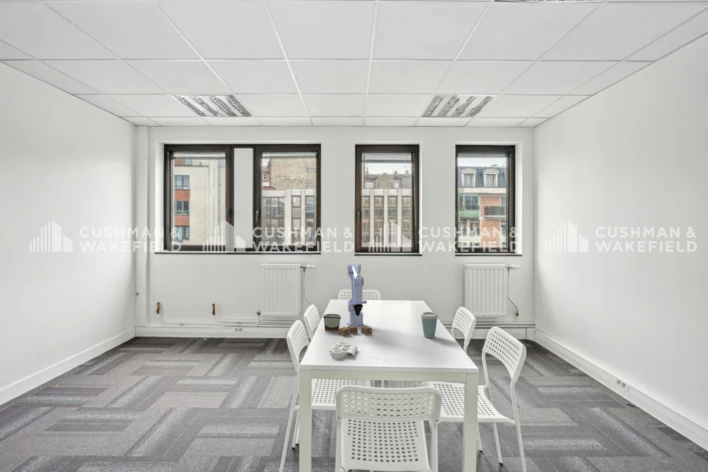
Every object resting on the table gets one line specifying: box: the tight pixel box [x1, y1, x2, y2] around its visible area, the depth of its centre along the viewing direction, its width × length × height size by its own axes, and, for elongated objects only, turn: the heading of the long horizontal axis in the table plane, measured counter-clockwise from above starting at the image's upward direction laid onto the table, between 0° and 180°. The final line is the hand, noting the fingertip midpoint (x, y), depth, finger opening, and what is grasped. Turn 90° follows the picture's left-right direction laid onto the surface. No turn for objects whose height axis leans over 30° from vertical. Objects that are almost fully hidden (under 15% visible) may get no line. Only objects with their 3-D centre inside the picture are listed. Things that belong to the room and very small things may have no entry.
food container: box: [322, 313, 342, 332], centre depth 228 cm, size 12×6×10 cm, turn 84°
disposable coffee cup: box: [420, 311, 438, 339], centre depth 218 cm, size 11×11×15 cm
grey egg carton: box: [328, 341, 358, 360], centre depth 187 cm, size 3×18×15 cm
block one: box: [360, 325, 373, 336], centre depth 222 cm, size 5×5×4 cm
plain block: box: [346, 325, 359, 335], centre depth 223 cm, size 5×5×4 cm
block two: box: [338, 326, 350, 337], centre depth 218 cm, size 5×5×4 cm
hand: (357, 315), depth 226 cm, fingers closed
